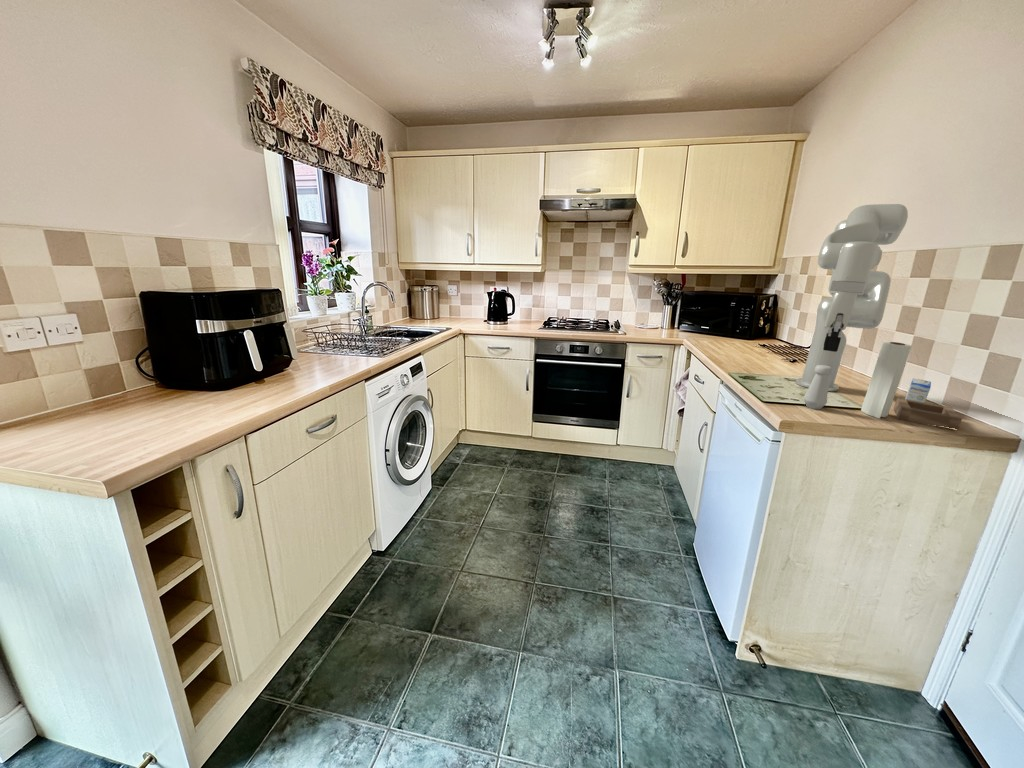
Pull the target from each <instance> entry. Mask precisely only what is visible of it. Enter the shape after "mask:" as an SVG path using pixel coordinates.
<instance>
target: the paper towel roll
mask: <svg viewBox="0 0 1024 768" xmlns="http://www.w3.org/2000/svg"><path fill="white" fill-rule="evenodd" d="M911 350H912V345H911V344H908V343H903V342H895V341H883V342H882V345H881V348H880V350H879V353H878V356H877V360H876V363H875V366H874V369H873V372H872V376H871V378H870V381H869V385H868V388H867V390H866V394H865V396H864V399H863V403H862V406H861V409H860V410H861V411H860V412H861V413H863V414H866V415H868V416H871V417H875V418H876V419H879V420H880V419H881V418H886V417H888V415H889V412H890V410H891V406H892V405H893V401H894V399H895V396H896V393H897V390H898V386H899V384H900V381H901V379H902V375H903V372H904V370H905V367H906V364H907V362H908V358H909V355H910V351H911Z"/></svg>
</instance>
